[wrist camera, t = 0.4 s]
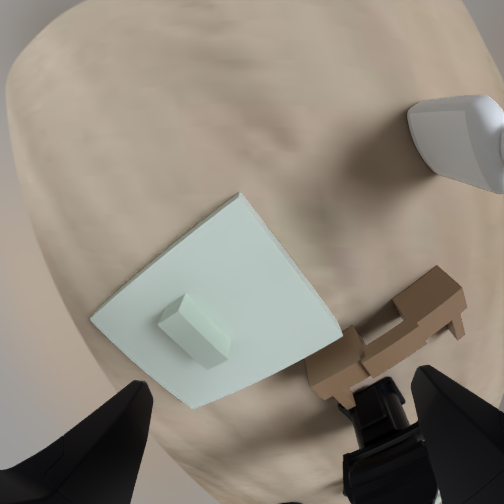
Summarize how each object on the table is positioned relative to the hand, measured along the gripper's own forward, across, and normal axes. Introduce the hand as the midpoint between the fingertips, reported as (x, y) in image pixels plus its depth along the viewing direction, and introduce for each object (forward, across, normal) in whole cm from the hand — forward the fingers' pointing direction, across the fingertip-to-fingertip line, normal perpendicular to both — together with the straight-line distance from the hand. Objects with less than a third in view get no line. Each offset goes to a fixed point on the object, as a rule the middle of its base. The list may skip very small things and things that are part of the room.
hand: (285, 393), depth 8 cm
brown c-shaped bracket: (+13, -11, +10) cm, 20 cm away
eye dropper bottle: (+13, -12, -8) cm, 20 cm away
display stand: (+13, +6, +5) cm, 15 cm away
